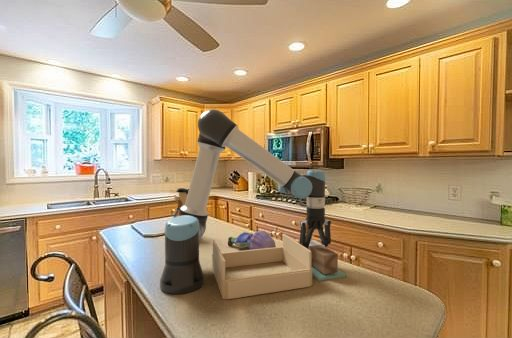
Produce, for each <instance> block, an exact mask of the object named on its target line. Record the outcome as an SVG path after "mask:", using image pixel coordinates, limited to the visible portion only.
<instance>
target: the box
mask: <svg viewBox="0 0 512 338" xmlns="http://www.w3.org/2000/svg"><path fill="white" fill-rule="evenodd" d="M309 247H310V251H311V265H312V266H314V267H315V268H316V269H318V270H319V271H320V272H322V273H323V274H328V273H335V272H338V269H339V267H338V265H339V262H338V260H339V259H338V256H339V255H338V253H336V252H335V251H333V250H331V249H329V248H328V247H327V248H326V247H324V246H323V245H322V243H320V242H318V241H317V240H315V239H311V241H310V244H309Z"/></svg>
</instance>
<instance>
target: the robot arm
mask: <svg viewBox="0 0 512 338" xmlns="http://www.w3.org/2000/svg"><path fill="white" fill-rule="evenodd" d="M197 129H198V132H199V133H198V137H197V141H196V144H197V145H198V147H199V150H198V153H197V156H196V160H195V165H194V169H193V172H192V177H191V180H190V182H189V183H190V184H189V188H188V189H189V191H188V195H187V199H186V203H185V205H184V206H182V207H181V208H180V211H179V215H178V216H176V217H174V216H173V217H171V218H169V219H168V220H167V221H166V222H165V225H164V260H165V261H164V267H163V269H162V273H161V277H160V281H159V289H160V291H162V292H163V293H166V294H169V295H170V294H171V295H181V294H182V295H183V294H188V293H191V292H194V291H196V290H199V289H200V288H201V287H202V286H203V285H204V283H205V274H204V271H203V268H202V266H201V262H200V240H201V238H202V237H203V235H204V234H205V233H206V230H207V221H208V216H209V212H208V210H207V206H208V202H209V198H210V194H211V189H212V186H213V182H214V179H215V175H216V170H217V167H218V163H219V159H220V156H221V153H223V152H224V151H226V148H228V149H229V150H231V151H232V152H233V153H235V154H236V155H237V156H239V157H240V158H242V159H243V160H245V161H246V162H247V163H249V164H250V165H252V166H253V167H254V168H255V169H257V170H259V171H260V172H261V173H263V174H264V175H265V176H266V177H268V178H270V179H271V180H272V181H273V182H276V184H277V186H278V187H277V188H278V192H279V193H281V194H291V195H293V196H294V197H296V198H299V199H304V198H306V206H307V207H306V219H305V220H304V221H300V222H299V225H300V233H299V234H300V235H299V244H301V245H302V246H304V247H305V248H307V249H309V250H310V247H309V244H310V241H311V240H312V236H313V234H314V231H315V230H317V231H318V235H319V239H320V242H321V244H322V245H323V246H324V247H326V248H328V246H329V245H331V243H332V237H331V236H332V235H331V225H332V221H331V220H329V219H325V216H326V214H325V213H326V209H325V206H326V173H325V171H323V170H319V169H317V170H316V169H315V170H307V171H306V174H300V173H298V172H297V171H296V170H295V169H293V168H292V167H290V165H287V164H286V163H285V162H283V161H282V160H281V159H280V158H279V157H277V156H276V155H274V154H272V153H271V152H270V151H269V150H267V149H266V148H264V147H263V145H261V144H259V143H258V142H256V141H255V140H254V139H252V138H251V137H249V136H248V135H247V134H245V133H244V132H243V131H242V130H241V129H239V125H238V124H237V123H235V122H234V121H233V120H231V119H230V118H229V117H228V116H227V115H226V114H225V113H224V112H222V111H220V110H219V109H215V108H214V109H207V110H206V111H204V112H203V113H201V114H200V116H199V118H198V120H197ZM323 226H324V227H323Z"/></svg>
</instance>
